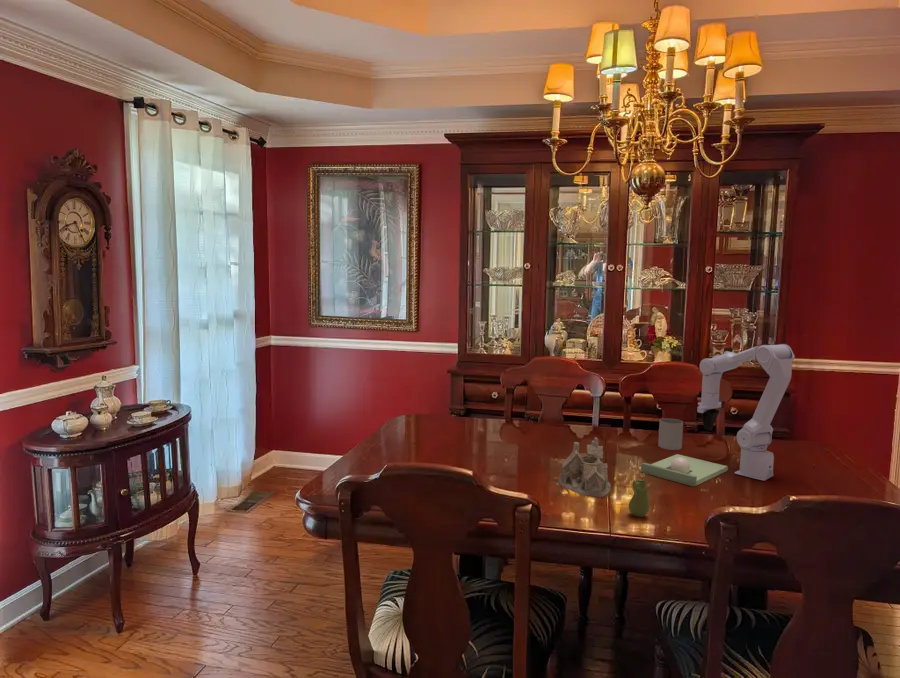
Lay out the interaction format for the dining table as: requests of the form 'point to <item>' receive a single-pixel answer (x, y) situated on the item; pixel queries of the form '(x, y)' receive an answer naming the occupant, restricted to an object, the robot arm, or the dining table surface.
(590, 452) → the ceramic cottage
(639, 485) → the pear
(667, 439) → the cup
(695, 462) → the putting mat
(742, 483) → the dining table surface
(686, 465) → the golf ball
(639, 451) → the dining table surface
